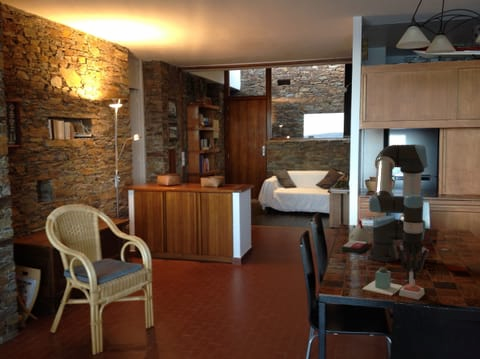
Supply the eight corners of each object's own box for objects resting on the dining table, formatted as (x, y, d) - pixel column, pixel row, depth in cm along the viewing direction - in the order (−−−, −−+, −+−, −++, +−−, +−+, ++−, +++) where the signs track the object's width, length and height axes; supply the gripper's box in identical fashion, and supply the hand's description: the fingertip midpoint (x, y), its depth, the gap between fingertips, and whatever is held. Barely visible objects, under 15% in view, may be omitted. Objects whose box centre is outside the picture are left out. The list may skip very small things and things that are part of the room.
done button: (407, 288, 191) (407, 283, 191) (419, 290, 188) (419, 286, 188) (403, 291, 188) (403, 286, 187) (415, 293, 184) (416, 289, 184)
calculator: (341, 245, 262) (350, 239, 274) (341, 252, 262) (350, 245, 275) (359, 247, 256) (367, 241, 268) (360, 255, 256) (368, 248, 268)
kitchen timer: (369, 241, 284) (369, 218, 283) (373, 246, 271) (374, 222, 269) (347, 241, 286) (347, 218, 284) (350, 246, 272) (351, 222, 270)
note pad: (374, 281, 206) (375, 280, 206) (402, 286, 198) (402, 285, 198) (362, 289, 196) (362, 288, 196) (391, 295, 187) (391, 294, 187)
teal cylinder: (379, 284, 200) (379, 266, 200) (390, 286, 197) (390, 268, 197) (375, 287, 197) (375, 268, 196) (386, 289, 193) (386, 270, 193)
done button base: (405, 290, 194) (405, 284, 193) (424, 294, 189) (424, 288, 188) (399, 295, 187) (399, 289, 187) (418, 299, 182) (418, 293, 182)
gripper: (394, 231, 187) (393, 285, 189) (426, 235, 178) (425, 291, 181) (400, 228, 192) (399, 280, 195) (431, 231, 184) (430, 286, 186)
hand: (411, 286), depth 188 cm, fingers closed
